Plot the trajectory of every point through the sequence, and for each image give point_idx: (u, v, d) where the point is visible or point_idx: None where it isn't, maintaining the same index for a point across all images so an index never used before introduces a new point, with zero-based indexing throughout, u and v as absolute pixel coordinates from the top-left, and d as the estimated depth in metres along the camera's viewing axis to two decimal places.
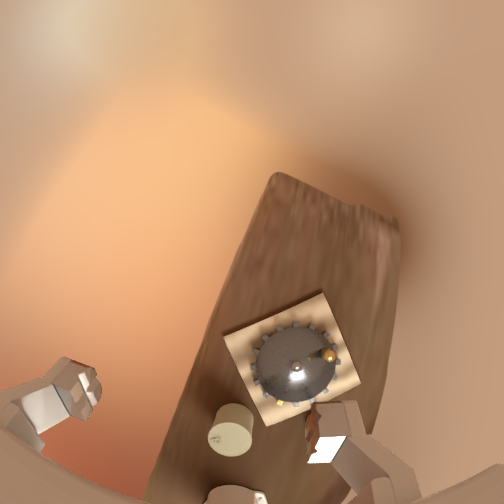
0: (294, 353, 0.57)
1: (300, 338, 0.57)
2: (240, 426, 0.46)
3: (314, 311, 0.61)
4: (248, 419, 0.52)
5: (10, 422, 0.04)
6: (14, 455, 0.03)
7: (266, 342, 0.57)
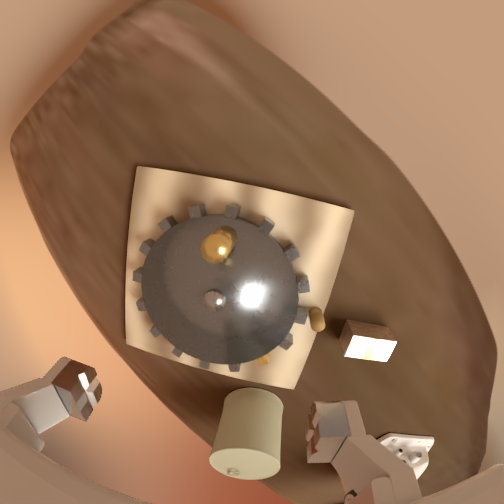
0: (190, 286, 0.29)
1: (169, 259, 0.29)
2: (228, 449, 0.25)
3: (154, 199, 0.30)
4: (249, 413, 0.31)
5: (10, 422, 0.04)
6: (14, 455, 0.03)
7: (148, 310, 0.31)
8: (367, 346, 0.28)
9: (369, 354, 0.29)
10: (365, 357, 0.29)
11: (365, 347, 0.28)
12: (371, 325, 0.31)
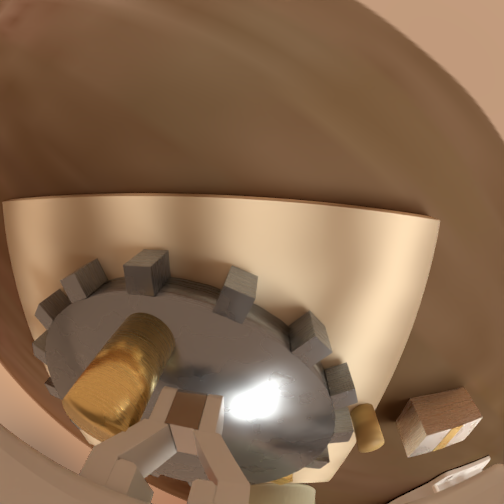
0: None
1: (76, 373, 0.12)
2: None
3: (33, 257, 0.13)
4: None
5: (129, 485, 0.04)
6: (14, 455, 0.03)
7: None
8: (443, 438, 0.12)
9: (443, 443, 0.12)
10: (437, 448, 0.12)
11: (440, 439, 0.12)
12: (445, 395, 0.15)
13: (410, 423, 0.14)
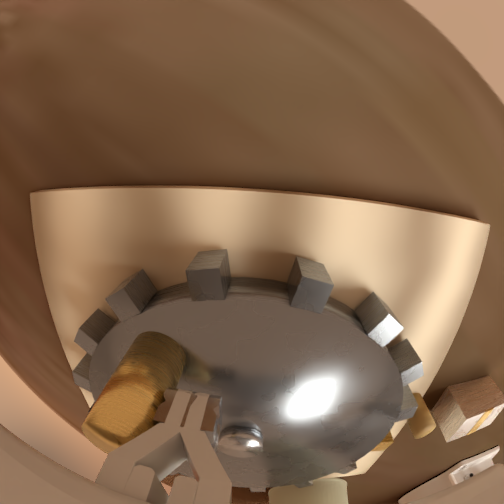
0: None
1: None
2: None
3: (71, 257, 0.12)
4: None
5: (148, 492, 0.04)
6: (14, 455, 0.03)
7: (179, 472, 0.15)
8: (477, 421, 0.12)
9: (475, 427, 0.12)
10: (470, 432, 0.12)
11: (474, 423, 0.12)
12: (475, 383, 0.15)
13: (448, 410, 0.14)
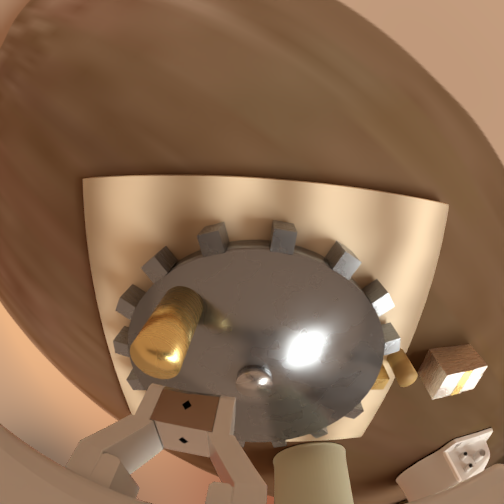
0: (214, 386, 0.18)
1: None
2: None
3: (120, 230, 0.17)
4: (313, 480, 0.20)
5: (112, 479, 0.04)
6: (14, 455, 0.03)
7: None
8: (458, 381, 0.17)
9: (458, 388, 0.17)
10: (454, 392, 0.17)
11: (456, 382, 0.17)
12: (455, 348, 0.19)
13: (431, 369, 0.19)
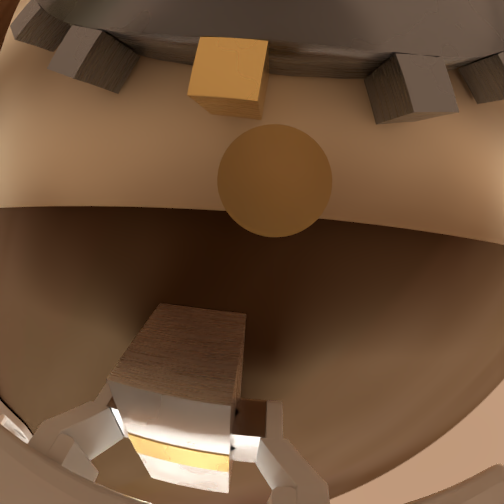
0: None
1: None
2: None
3: None
4: None
5: (66, 457, 0.04)
6: (14, 455, 0.03)
7: None
8: (184, 447, 0.06)
9: (154, 449, 0.06)
10: (138, 442, 0.06)
11: (182, 442, 0.06)
12: (239, 395, 0.09)
13: (198, 340, 0.07)
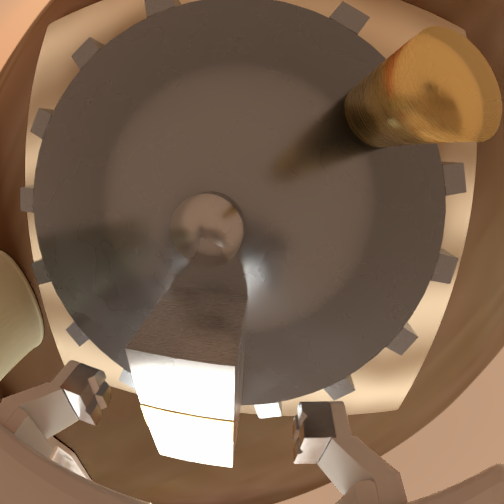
0: (176, 147, 0.09)
1: (190, 51, 0.07)
2: None
3: None
4: None
5: (18, 428, 0.04)
6: (14, 455, 0.03)
7: (45, 141, 0.09)
8: (193, 414, 0.07)
9: (164, 420, 0.07)
10: (149, 413, 0.07)
11: (190, 409, 0.07)
12: (242, 372, 0.11)
13: (206, 316, 0.08)
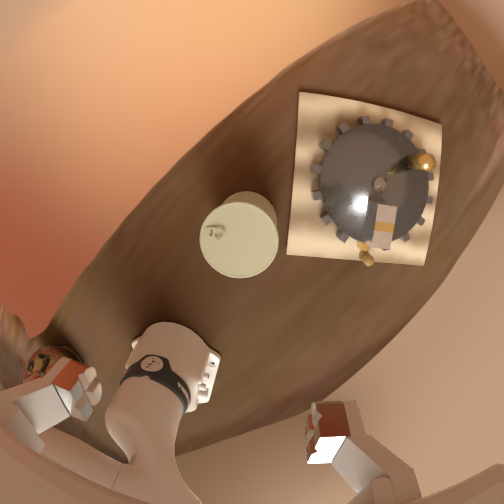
0: (373, 164, 0.35)
1: (376, 140, 0.34)
2: (271, 222, 0.30)
3: (425, 136, 0.34)
4: None
5: (10, 422, 0.04)
6: (14, 455, 0.03)
7: (329, 151, 0.35)
8: (386, 223, 0.33)
9: (379, 227, 0.34)
10: (376, 224, 0.33)
11: (386, 220, 0.33)
12: None
13: (383, 203, 0.35)
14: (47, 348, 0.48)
